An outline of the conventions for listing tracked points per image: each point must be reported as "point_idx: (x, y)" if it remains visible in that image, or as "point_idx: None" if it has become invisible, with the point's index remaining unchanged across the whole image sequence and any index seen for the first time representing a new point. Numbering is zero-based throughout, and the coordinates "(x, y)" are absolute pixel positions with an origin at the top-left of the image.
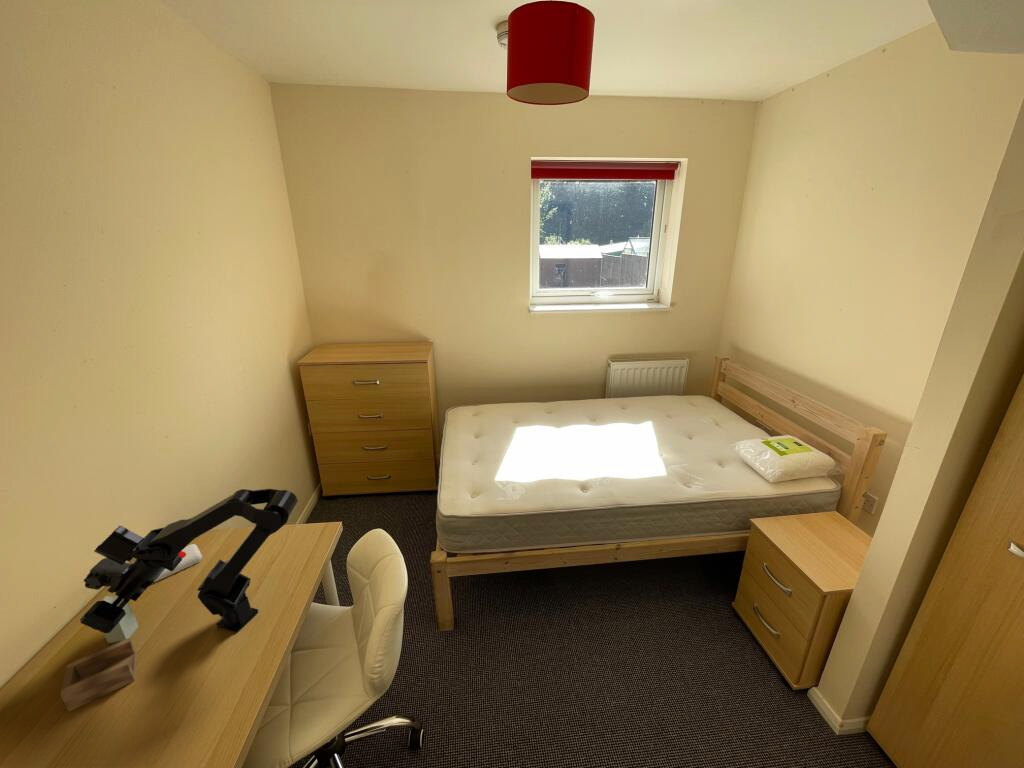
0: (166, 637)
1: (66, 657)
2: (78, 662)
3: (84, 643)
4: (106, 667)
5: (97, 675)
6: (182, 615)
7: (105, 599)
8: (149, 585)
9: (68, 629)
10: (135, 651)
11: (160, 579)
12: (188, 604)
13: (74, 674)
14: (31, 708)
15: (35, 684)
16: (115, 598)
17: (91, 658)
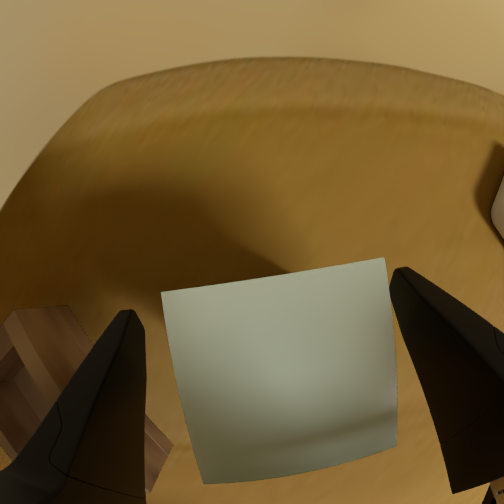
0: (245, 492)
1: (158, 170)
2: (22, 353)
3: (219, 181)
4: None
5: (13, 457)
6: (345, 475)
7: (334, 297)
8: (452, 493)
9: (285, 73)
10: (167, 453)
11: (500, 234)
12: (396, 453)
13: (9, 359)
14: (11, 245)
15: (70, 172)
16: (346, 404)
17: (43, 395)
